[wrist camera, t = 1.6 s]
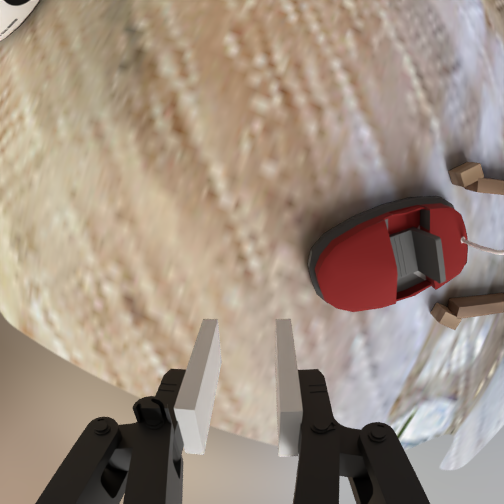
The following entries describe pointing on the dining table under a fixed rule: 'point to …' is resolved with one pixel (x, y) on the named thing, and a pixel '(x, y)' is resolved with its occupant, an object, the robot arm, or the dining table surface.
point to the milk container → (14, 14)
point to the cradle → (481, 304)
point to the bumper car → (390, 253)
